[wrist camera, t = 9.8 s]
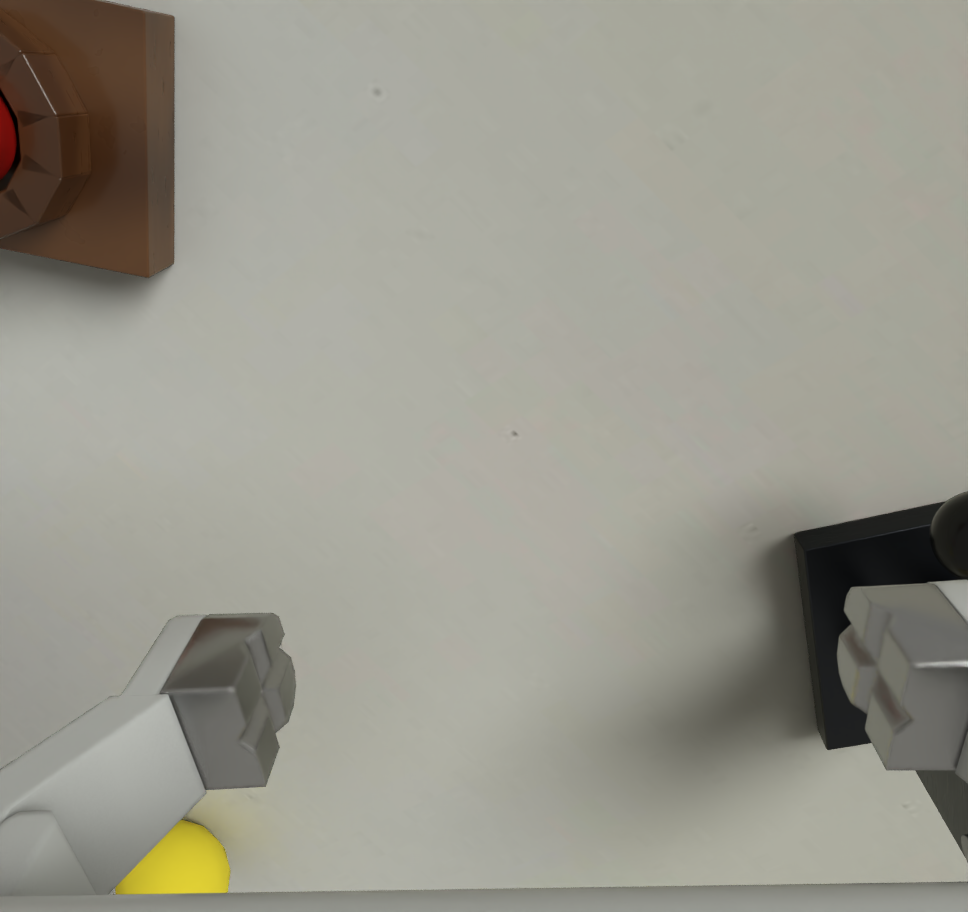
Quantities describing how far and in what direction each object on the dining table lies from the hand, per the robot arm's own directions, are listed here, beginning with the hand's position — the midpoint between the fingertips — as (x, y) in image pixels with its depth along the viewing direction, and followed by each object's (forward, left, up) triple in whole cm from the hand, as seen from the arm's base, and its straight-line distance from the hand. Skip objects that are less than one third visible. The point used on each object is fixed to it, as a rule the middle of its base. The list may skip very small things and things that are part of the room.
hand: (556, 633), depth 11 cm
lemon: (+34, -12, -19) cm, 41 cm away
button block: (-2, -18, -19) cm, 26 cm away
